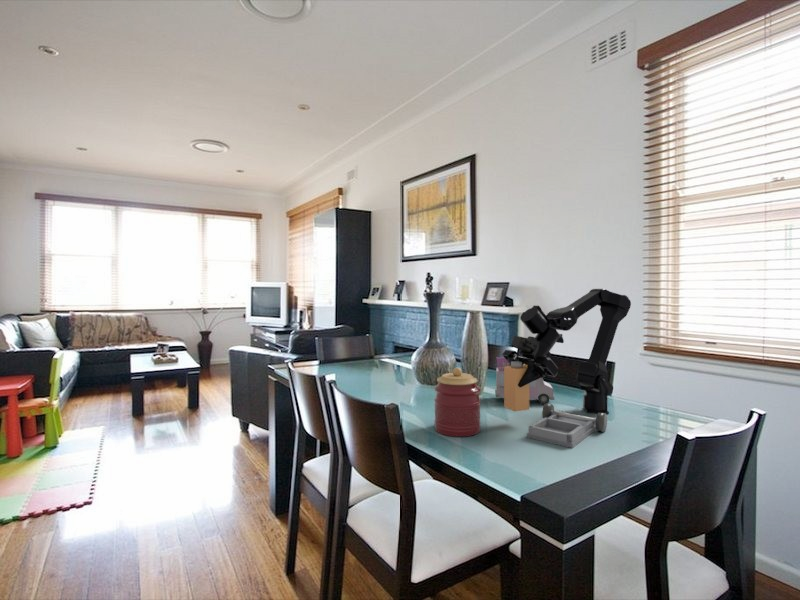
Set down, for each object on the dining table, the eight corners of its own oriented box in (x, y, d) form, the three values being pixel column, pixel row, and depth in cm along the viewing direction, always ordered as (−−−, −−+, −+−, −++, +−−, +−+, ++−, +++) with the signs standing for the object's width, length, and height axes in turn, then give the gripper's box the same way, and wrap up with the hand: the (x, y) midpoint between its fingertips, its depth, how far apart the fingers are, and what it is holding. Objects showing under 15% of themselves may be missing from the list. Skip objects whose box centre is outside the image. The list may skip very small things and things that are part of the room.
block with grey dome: (517, 405, 128) (517, 360, 128) (529, 409, 123) (529, 362, 123) (504, 407, 126) (504, 361, 126) (515, 411, 121) (515, 364, 121)
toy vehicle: (554, 406, 144) (554, 361, 144) (495, 403, 148) (495, 360, 148) (550, 399, 153) (550, 357, 153) (495, 396, 157) (495, 356, 157)
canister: (442, 420, 129) (441, 362, 128) (485, 425, 124) (485, 365, 123) (428, 434, 117) (427, 369, 116) (475, 440, 112) (475, 373, 111)
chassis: (550, 417, 131) (550, 401, 131) (608, 428, 120) (608, 411, 120) (518, 435, 115) (518, 416, 115) (582, 450, 104) (582, 429, 104)
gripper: (506, 324, 134) (477, 361, 130) (550, 328, 117) (518, 372, 113) (526, 347, 138) (498, 384, 133) (571, 355, 121) (541, 398, 116)
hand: (512, 384), depth 124 cm, fingers closed on block with grey dome, 5 cm apart
